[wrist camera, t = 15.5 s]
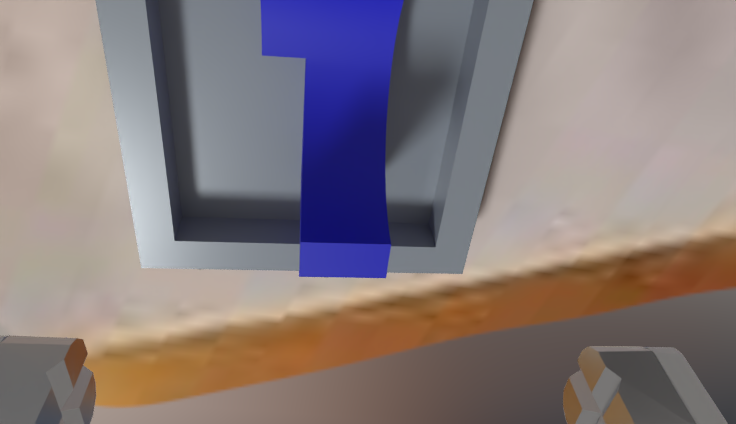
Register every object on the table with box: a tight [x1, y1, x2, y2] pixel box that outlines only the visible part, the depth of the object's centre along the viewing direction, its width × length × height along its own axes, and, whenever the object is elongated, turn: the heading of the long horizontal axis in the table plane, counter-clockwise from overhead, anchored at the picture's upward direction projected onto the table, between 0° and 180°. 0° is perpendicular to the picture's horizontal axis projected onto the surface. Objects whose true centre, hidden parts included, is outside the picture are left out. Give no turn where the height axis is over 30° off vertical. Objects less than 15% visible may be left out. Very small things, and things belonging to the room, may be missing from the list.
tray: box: [96, 0, 534, 274], centre depth 21 cm, size 14×18×2 cm
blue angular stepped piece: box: [260, 0, 404, 278], centre depth 19 cm, size 12×4×6 cm, turn 175°
